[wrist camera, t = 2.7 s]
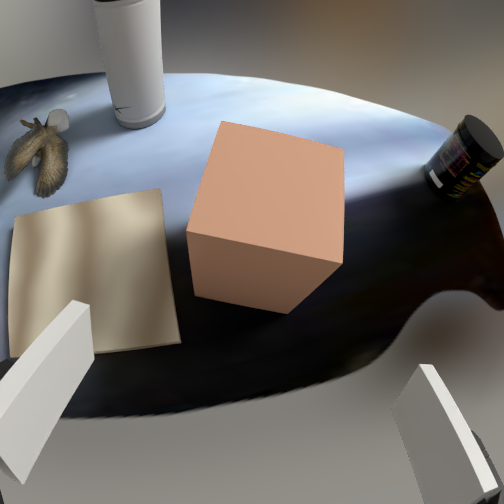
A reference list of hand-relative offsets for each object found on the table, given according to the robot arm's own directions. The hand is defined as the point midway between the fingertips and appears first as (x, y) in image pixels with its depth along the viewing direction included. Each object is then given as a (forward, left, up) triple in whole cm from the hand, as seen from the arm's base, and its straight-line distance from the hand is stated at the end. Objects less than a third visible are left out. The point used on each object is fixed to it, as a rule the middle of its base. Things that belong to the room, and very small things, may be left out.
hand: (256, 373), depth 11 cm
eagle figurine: (-17, +25, -14) cm, 33 cm away
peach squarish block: (+4, +9, -14) cm, 17 cm away
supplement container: (+32, +16, -14) cm, 39 cm away
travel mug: (-5, +30, -14) cm, 34 cm away
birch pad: (-11, +10, -14) cm, 21 cm away
